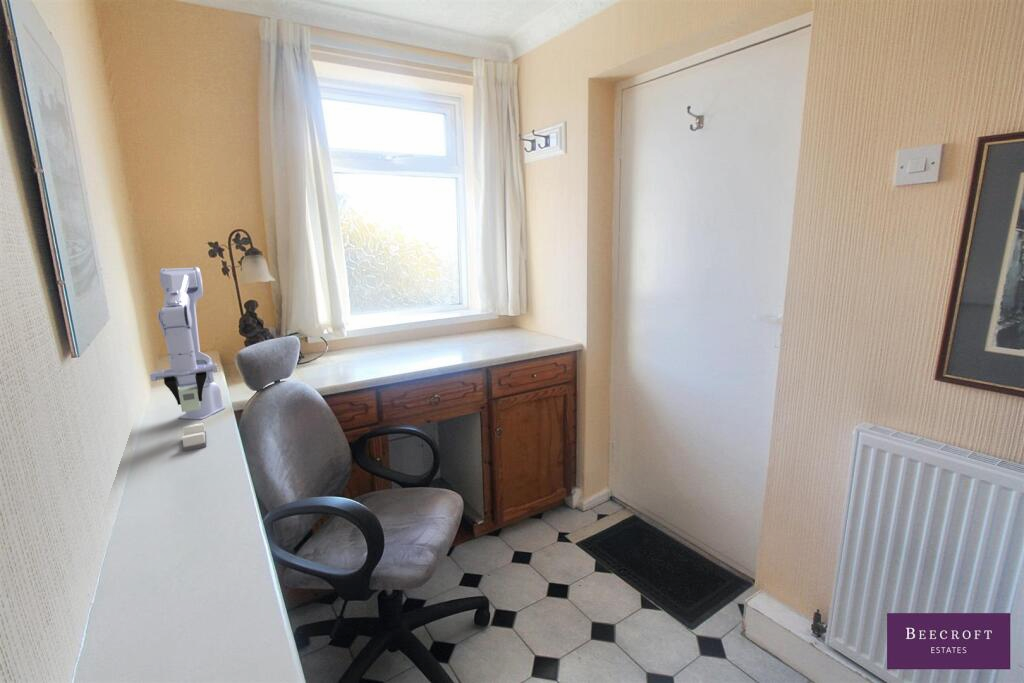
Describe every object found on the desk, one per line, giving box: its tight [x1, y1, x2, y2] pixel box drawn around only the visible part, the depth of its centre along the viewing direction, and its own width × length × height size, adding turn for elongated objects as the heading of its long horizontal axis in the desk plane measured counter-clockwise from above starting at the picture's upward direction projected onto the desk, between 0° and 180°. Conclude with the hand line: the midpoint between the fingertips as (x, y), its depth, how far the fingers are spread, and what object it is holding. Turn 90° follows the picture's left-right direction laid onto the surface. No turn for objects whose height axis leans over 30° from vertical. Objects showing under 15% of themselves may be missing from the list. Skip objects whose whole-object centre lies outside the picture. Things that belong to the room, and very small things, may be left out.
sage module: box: [178, 385, 200, 413], centre depth 128 cm, size 4×4×6 cm
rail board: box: [181, 422, 207, 452], centre depth 123 cm, size 9×5×3 cm, turn 32°
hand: (190, 401), depth 128 cm, fingers closed on sage module, 4 cm apart
